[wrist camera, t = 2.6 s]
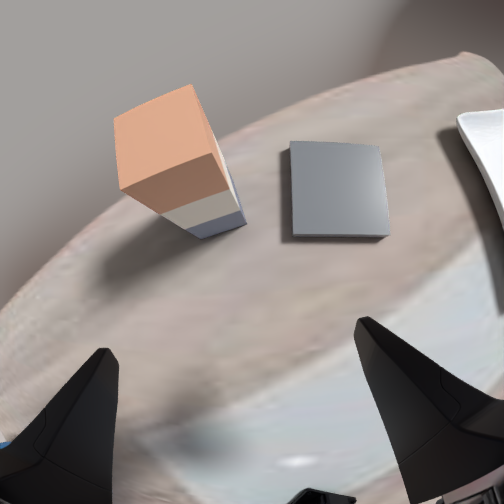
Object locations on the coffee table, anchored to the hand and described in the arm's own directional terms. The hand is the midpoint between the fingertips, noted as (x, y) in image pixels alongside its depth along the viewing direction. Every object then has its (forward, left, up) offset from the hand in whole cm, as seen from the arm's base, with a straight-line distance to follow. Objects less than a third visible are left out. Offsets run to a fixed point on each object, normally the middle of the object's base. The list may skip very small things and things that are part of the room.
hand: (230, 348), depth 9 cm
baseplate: (+12, -2, -13) cm, 17 cm away
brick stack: (+6, +7, -13) cm, 15 cm away
